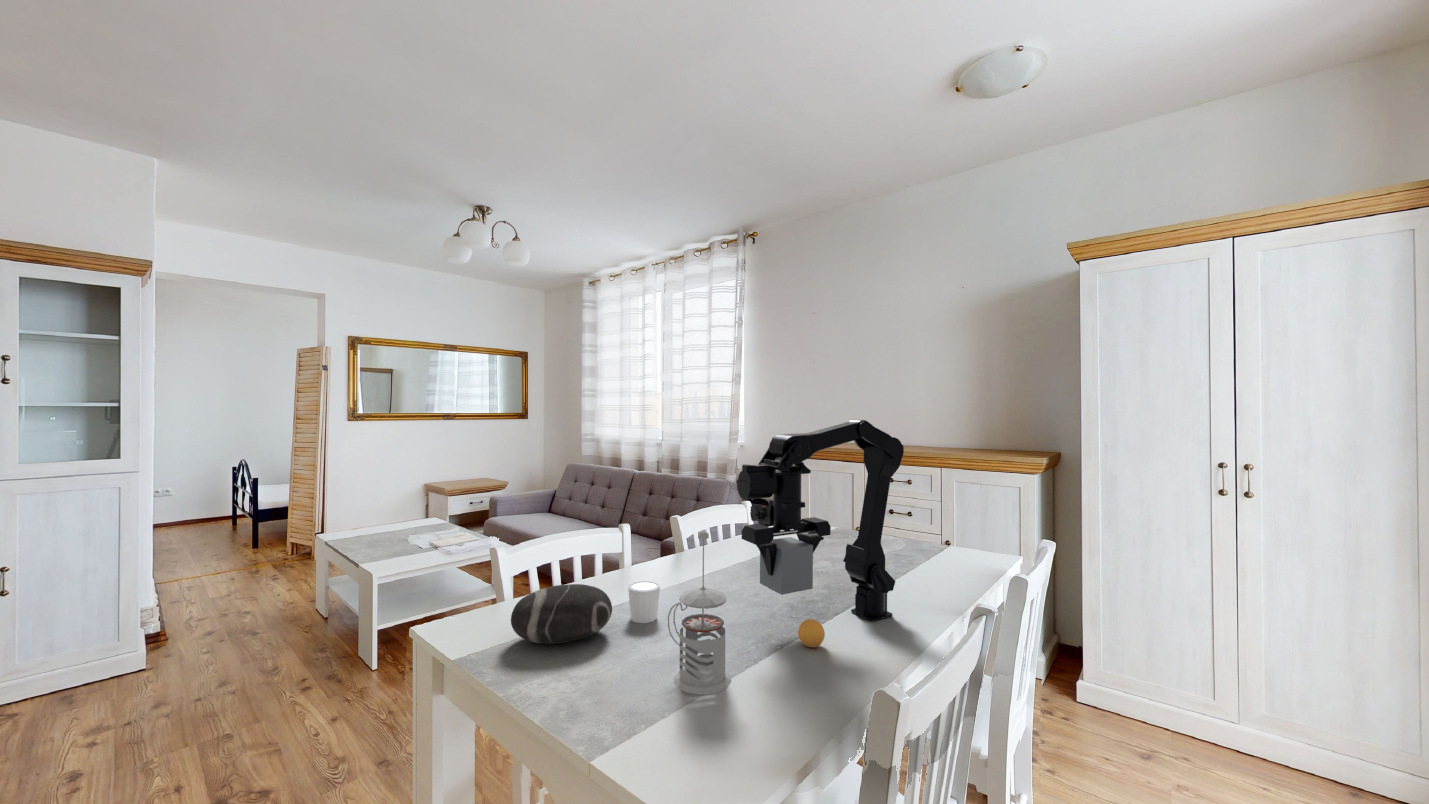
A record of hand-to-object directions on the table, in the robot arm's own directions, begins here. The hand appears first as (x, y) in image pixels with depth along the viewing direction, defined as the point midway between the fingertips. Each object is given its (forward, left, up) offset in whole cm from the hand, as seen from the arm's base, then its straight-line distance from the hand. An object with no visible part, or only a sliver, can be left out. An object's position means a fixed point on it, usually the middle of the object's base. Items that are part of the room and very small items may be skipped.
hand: (786, 572), depth 115 cm
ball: (0, +8, -9) cm, 12 cm away
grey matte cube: (0, 0, -3) cm, 3 cm away
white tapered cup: (+23, -20, -12) cm, 33 cm away
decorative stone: (+41, -18, -12) cm, 47 cm away
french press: (+25, +9, -12) cm, 29 cm away
